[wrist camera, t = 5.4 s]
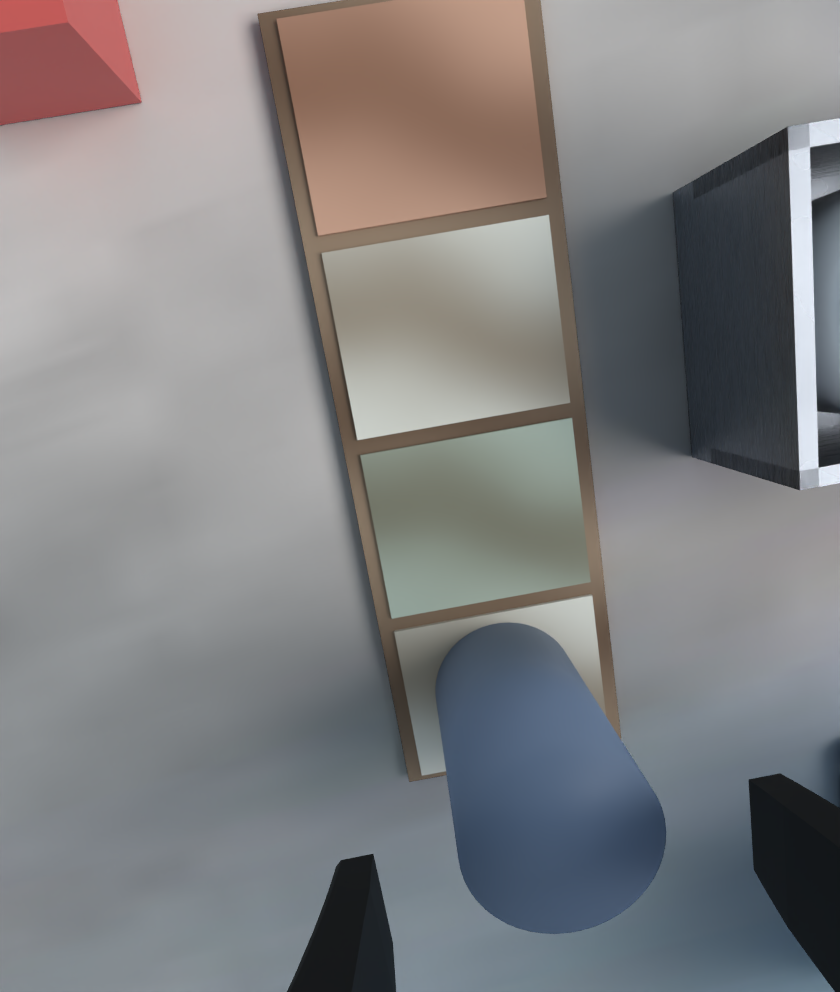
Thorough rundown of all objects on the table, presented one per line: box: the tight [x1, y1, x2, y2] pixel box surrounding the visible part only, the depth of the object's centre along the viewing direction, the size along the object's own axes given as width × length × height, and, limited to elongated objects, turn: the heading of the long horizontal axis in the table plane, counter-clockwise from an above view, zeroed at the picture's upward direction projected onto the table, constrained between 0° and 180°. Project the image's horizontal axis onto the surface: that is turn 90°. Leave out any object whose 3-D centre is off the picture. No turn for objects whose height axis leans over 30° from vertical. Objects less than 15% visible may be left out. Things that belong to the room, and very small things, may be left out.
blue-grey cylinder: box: [435, 622, 666, 934], centre depth 15 cm, size 4×4×6 cm
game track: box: [258, 0, 621, 782], centre depth 16 cm, size 20×6×1 cm, turn 10°
